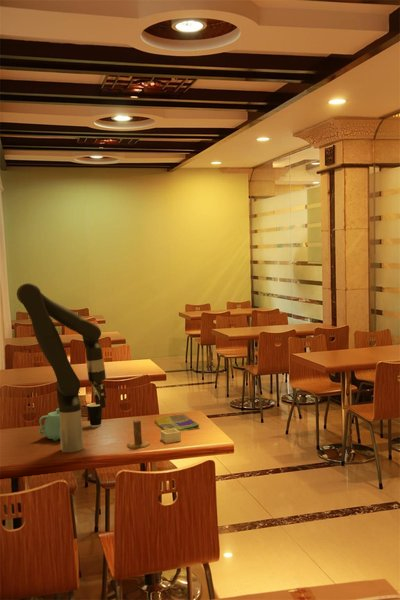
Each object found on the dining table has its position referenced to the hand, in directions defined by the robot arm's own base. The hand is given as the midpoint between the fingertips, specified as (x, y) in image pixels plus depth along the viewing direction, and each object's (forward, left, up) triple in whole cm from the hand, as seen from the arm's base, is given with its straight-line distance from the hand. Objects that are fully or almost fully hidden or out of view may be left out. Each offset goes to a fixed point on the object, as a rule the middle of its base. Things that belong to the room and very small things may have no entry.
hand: (100, 406), depth 275 cm
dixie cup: (+5, +36, -18) cm, 40 cm away
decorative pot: (-14, +24, -18) cm, 33 cm away
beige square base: (+29, -9, -17) cm, 35 cm away
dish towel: (+40, +15, -18) cm, 46 cm away
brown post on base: (+14, -9, -18) cm, 24 cm away
